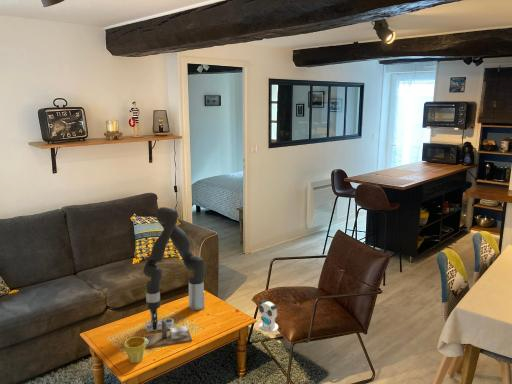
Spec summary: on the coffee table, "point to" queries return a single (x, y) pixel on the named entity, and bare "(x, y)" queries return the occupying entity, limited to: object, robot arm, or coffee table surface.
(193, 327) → the coffee table surface
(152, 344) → the hinge base
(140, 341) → the plant pot
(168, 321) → the hinge leaf
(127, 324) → the coffee table surface
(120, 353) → the coffee table surface
